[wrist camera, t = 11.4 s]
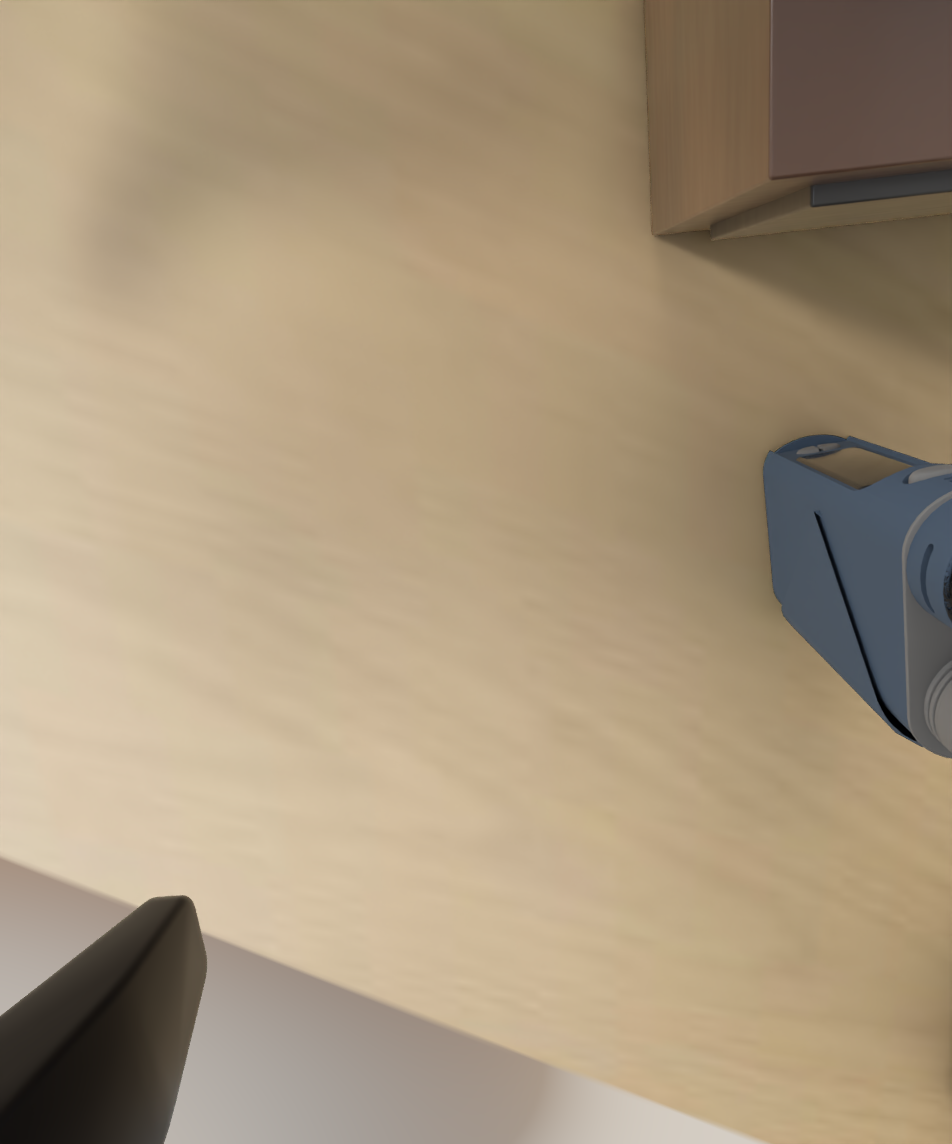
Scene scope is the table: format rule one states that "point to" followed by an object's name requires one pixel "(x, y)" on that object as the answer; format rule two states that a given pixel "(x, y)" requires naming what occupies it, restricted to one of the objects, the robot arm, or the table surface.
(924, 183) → the radio
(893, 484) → the vaping device
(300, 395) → the table surface
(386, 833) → the table surface
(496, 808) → the table surface
